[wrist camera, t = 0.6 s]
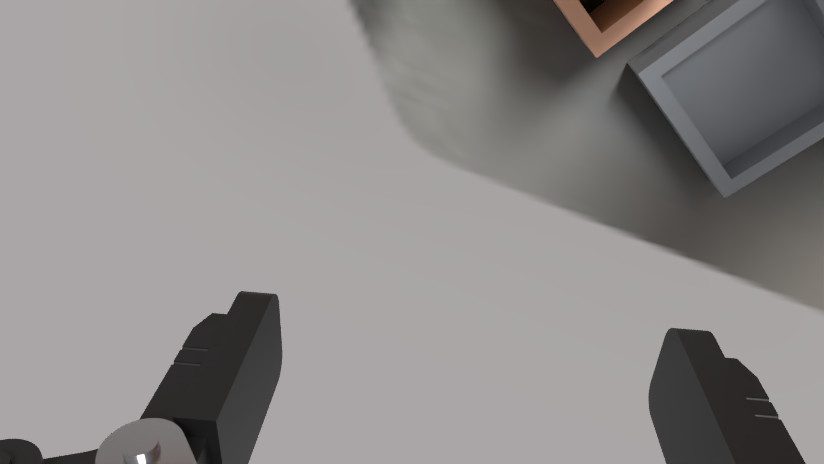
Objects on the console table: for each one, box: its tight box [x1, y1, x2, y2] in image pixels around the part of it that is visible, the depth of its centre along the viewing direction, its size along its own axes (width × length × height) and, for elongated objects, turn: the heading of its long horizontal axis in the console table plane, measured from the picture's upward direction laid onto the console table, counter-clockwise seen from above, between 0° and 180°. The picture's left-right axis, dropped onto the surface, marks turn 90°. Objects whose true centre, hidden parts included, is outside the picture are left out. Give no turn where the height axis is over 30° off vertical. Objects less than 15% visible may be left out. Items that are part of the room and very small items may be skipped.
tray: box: [627, 0, 824, 198], centre depth 33 cm, size 9×9×2 cm
